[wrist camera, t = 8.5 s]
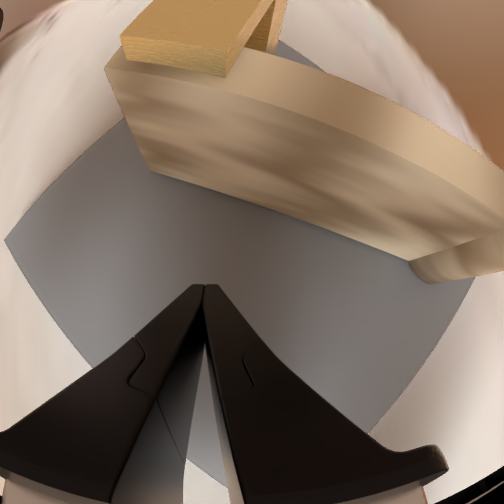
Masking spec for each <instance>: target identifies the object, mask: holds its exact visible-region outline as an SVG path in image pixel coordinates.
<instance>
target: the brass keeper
mask: <svg viewBox="0 0 504 504" xmlns="http://www.w3.org/2000/svg"><path fill="white" fill-rule="evenodd" d="M287 1H288V0H154V1H153V2H152V3H151V4H150V5H148V6H147V7H146V8H145V9H144V10H143V11H142V12H141V13H140V14H139V15H138V16H137V18H136V19H135V20H134V21H133V22H132V23H131V24H130V25H129V26H128V27H127V28H126V29H125V30H124V31H123V32H122V34H121V35H120V39H121V42H122V46H123V49H124V52H125V55H126V59H127V60H132V61H139V62H146V63H153V64H159V65H165V66H170V67H176V68H181V69H186V70H191V71H196V72H200V73H205V74H209V75H213V76H218V77H222V78H226V77H227V75H228V73H229V71H230V70H231V68H232V66H233V64H234V63H235V61H236V59H237V57H238V56H239V54H240V52H241V51H242V49H243V47H245V48H249V49H253V50H257V51H261V52H264V53H268V54H271V55H275V53H276V48H277V44H278V39H279V35H280V31H281V27H282V22H283V18H284V14H285V10H286V5H287Z"/></svg>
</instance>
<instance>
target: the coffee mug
mask: <svg viewBox="0 0 504 504" xmlns="http://www.w3.org/2000/svg"><path fill="white" fill-rule="evenodd" d="M2 22H3V11H2V9H1V8H0V30H1V27H2Z"/></svg>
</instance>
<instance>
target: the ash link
mask: <svg viewBox="0 0 504 504" xmlns="http://www.w3.org/2000/svg"><path fill="white" fill-rule="evenodd" d="M104 70H105V72H106V75H107V77H108V80H109V82H110V84H111V87H112V89H113V91H114V94H115V96H116V98H117V101H118V103H119V105H120V108H121V110H122V112H123V114H124V117H125V119H126V121H127V123H128V126H129V128H130V130H131V132H132V135H133V137H134V139H135V141H136V143H137V145H138V148H139V150H140V152H141V154H142V156H143V158H144V160H145V162H146V165H147V167H148V169H149V170H150V171H154V172H157V173H160V174H164V175H167V176H170V177H173V178H177V179H180V180H183V181H186V182H190V183H193V184H196V185H199V186H202V187H206V188H209V189H212V190H215V191H218V192H221V193H224V194H227V195H230V196H233V197H236V198H239V199H242V200H245V201H248V202H251V203H254V204H257V205H260V206H263V207H266V208H269V209H272V210H275V211H277V212H280V213H283V214H286V215H289V216H292V217H294V218H297V219H300V220H303V221H306V222H308V223H311V224H314V225H317V226H319V227H322V228H325V229H328V230H330V231H333V232H336V233H338V234H341V235H344V236H346V237H349V238H351V239H354V240H357V241H359V242H362V243H364V244H367V245H370V246H372V247H375V248H377V249H380V250H382V251H385V252H387V253H390V254H392V255H395V256H397V257H400V258H402V259H405V260H407V261H409V264H410V266H411V268H412V270H413V272H414V273H415V275H416V276H417V277H418V278H419V279H420V280H422V281H423V282H425V283H428V284H438V283H444V282H449V281H455V280H460V279H465V278H470V277H475V276H480V275H485V274H490V273H495V272H500V271H504V171H503V170H501V169H500V168H499V167H498V166H496V165H495V164H494V163H492V162H491V161H490V160H488V159H487V158H485V157H484V156H483V155H481V154H480V153H478V152H477V151H476V150H474V149H473V148H471V147H470V146H468V145H467V144H465V143H464V142H462V141H461V140H459V139H458V138H456V137H454V136H453V135H451V134H450V133H448V132H446V131H445V130H443V129H441V128H440V127H438V126H436V125H435V124H433V123H431V122H430V121H428V120H426V119H424V118H423V117H421V116H419V115H417V114H415V113H414V112H412V111H410V110H408V109H406V108H404V107H402V106H400V105H398V104H396V103H394V102H392V101H390V100H388V99H386V98H384V97H382V96H380V95H378V94H376V93H374V92H371V91H369V90H367V89H365V88H362V87H360V86H358V85H356V84H353V83H351V82H348V81H346V80H344V79H341V78H339V77H336V76H334V75H331V74H328V73H326V72H323V71H320V70H318V69H315V68H312V67H309V66H306V65H303V64H300V63H297V62H294V61H291V60H288V59H285V58H282V57H278V56H275V55H271V54H268V53H264V52H261V51H257V50H253V49H249V48H245V47H243V49H242V51H241V52H240V54H239V56H238V57H237V59H236V61H235V63H234V64H233V66H232V68H231V70H230V71H229V73H228V75H227V77H226V78H222V77H218V76H213V75H209V74H205V73H200V72H196V71H191V70H186V69H181V68H176V67H170V66H165V65H159V64H153V63H146V62H139V61H132V60H127V59H126V55H125V52H124V49H123V46H121V47H120V48H119V50H118V51H117V52H116V53H115V54H114V56H113V57H112V58H111V59H110V61H109V62H108V63H107V65H106V66H105V67H104Z"/></svg>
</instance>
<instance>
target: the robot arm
mask: <svg viewBox="0 0 504 504" xmlns="http://www.w3.org/2000/svg"><path fill="white" fill-rule="evenodd" d="M204 348H205V349H206V357H207V365H208V372H209V379H210V386H211V393H212V399H213V406H214V412H215V418H216V424H217V430H218V436H219V442H220V447H221V453H222V458H223V463H224V469H225V474H226V479H227V485H228V490H229V496H230V501H231V504H428V503H427V499H426V496H425V492H424V489H423V486H424V485H426V484H428V483H430V482H431V481H433V480H435V479H437V478H438V477H440V476H442V475H443V474H445V473H446V472H447V471H448V470H449V467H448V464H447V462H446V459H445V457H444V455H443V454H442V452H441V450H440V449H439V447H438V446H437V445H426V446H422V447H419V448H416V449H413V450H410V451H405V452H394V451H391V450H388V449H387V448H385V447H383V446H382V445H381V444H379V443H378V442H377V441H376V440H374V439H373V438H372V437H371V436H369V435H368V434H367V433H365V432H364V431H363V430H362V429H360V428H359V427H358V426H357V425H355V424H354V423H353V422H352V421H351V420H349V419H348V418H347V417H346V416H344V415H343V414H342V413H341V412H340V411H338V410H337V409H336V408H335V407H334V406H332V405H331V404H330V403H329V402H328V401H326V400H325V399H324V398H323V397H322V396H321V395H319V394H318V393H317V392H316V391H315V390H314V389H312V388H311V387H310V386H309V385H308V384H307V383H305V382H304V381H303V380H302V379H301V378H300V377H299V376H297V375H296V374H295V373H294V372H293V371H292V370H291V369H289V368H288V367H287V366H286V365H285V364H284V363H283V362H282V361H281V360H280V359H279V358H278V357H277V356H276V355H275V354H274V353H273V352H272V350H271V349H270V348H269V347H268V346H267V345H266V343H265V342H264V341H263V340H261V338H260V336H259V335H258V334H257V333H256V332H255V330H254V329H253V328H252V327H251V325H250V324H249V323H248V322H247V320H246V319H245V318H244V317H243V315H242V314H241V313H240V312H239V310H238V309H237V308H236V306H235V305H234V304H233V303H232V301H231V300H230V299H229V298H228V296H227V295H226V294H225V292H224V291H223V290H222V289H221V287H220V286H219V285H218V284H206V285H204V284H192V285H190V286H189V287H188V288H187V289H186V290H185V291H184V292H182V293H181V294H180V295H179V296H178V297H177V298H176V299H175V300H173V301H172V302H171V303H170V304H169V305H168V306H167V307H166V308H164V309H163V310H162V311H161V312H160V313H159V314H158V315H157V316H155V317H154V318H153V319H152V320H151V321H150V322H149V323H148V324H147V325H145V326H144V327H143V328H142V329H141V330H140V331H139V332H138V333H137V334H135V335H134V337H132V338H130V339H129V340H128V341H127V342H126V343H125V344H124V345H122V346H121V347H120V348H119V349H118V350H117V351H115V352H114V353H113V354H112V355H110V356H109V357H108V358H106V359H105V360H104V361H102V362H101V363H100V364H98V365H97V366H96V367H94V368H93V369H91V370H90V371H89V372H87V373H86V374H84V375H83V376H82V377H80V378H79V379H77V380H76V381H75V382H73V383H72V384H70V385H69V386H68V387H66V388H65V389H63V390H62V391H61V392H59V393H58V394H56V395H55V396H54V397H52V398H51V399H49V400H48V401H47V402H45V403H44V404H42V405H41V406H39V407H38V408H37V409H35V410H34V411H32V412H31V413H30V414H28V415H27V416H25V417H24V418H23V419H21V420H20V421H18V422H17V423H16V424H14V425H13V426H11V427H10V428H9V429H7V430H5V431H3V432H0V476H1V477H3V478H4V479H5V484H4V489H3V495H2V496H0V504H183V478H184V468H185V462H186V455H187V449H188V443H189V436H190V430H191V424H192V418H193V412H194V406H195V400H196V394H197V388H198V383H199V377H200V371H201V366H202V360H203V354H204ZM435 504H504V466H503V467H501V468H500V469H498V470H497V471H495V472H493V473H492V474H490V475H489V476H487V477H485V478H484V479H482V480H480V481H478V482H477V483H475V484H473V485H471V486H469V487H467V488H466V489H464V490H462V491H460V492H458V493H456V494H454V495H452V496H450V497H448V498H446V499H444V500H441V501H439V502H437V503H435Z"/></svg>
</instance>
